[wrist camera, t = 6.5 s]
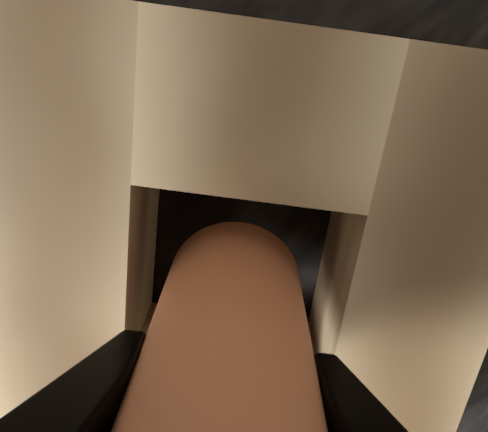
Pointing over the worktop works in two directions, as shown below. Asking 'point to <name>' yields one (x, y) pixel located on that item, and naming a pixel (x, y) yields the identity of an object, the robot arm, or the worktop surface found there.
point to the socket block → (243, 183)
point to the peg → (227, 342)
